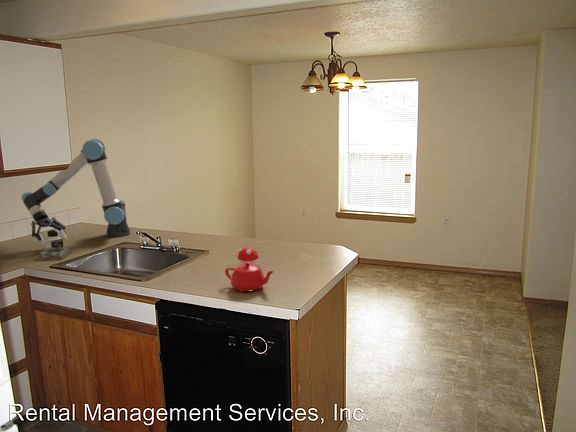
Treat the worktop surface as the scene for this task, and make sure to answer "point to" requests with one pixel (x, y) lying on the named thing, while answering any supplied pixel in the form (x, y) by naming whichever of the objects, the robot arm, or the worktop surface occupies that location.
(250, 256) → the mushroom
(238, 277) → the teapot
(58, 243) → the medicine bottle
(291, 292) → the worktop surface
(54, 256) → the collar board
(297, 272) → the worktop surface
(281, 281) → the worktop surface
